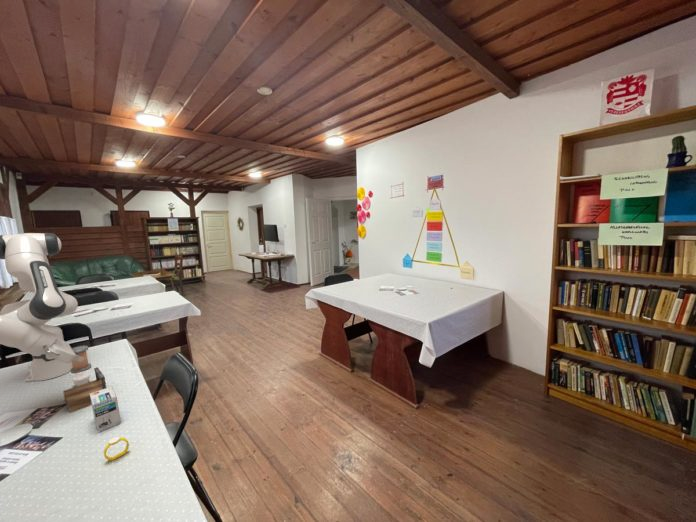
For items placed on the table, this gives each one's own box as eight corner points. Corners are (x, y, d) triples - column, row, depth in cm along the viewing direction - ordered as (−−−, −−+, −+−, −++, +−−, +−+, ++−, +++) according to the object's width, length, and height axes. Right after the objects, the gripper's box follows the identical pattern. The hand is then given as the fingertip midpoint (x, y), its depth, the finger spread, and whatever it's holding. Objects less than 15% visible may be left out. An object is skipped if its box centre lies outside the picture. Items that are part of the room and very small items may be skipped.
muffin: (78, 389, 128) (75, 374, 127) (70, 387, 131) (67, 372, 130) (94, 382, 134) (92, 368, 133) (86, 379, 136) (84, 366, 135)
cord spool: (69, 370, 119) (65, 349, 117) (89, 364, 123) (86, 344, 122) (72, 375, 114) (68, 353, 113) (92, 368, 119) (89, 348, 118)
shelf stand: (64, 399, 121) (60, 378, 119) (101, 386, 130) (98, 366, 129) (70, 412, 112) (65, 390, 111) (109, 397, 121) (105, 376, 120)
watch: (128, 448, 92) (126, 431, 92) (130, 452, 91) (128, 435, 90) (104, 460, 88) (101, 443, 87) (106, 465, 86) (103, 447, 85)
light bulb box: (121, 423, 105) (117, 396, 103) (97, 433, 100) (92, 405, 98) (116, 410, 112) (112, 385, 110) (93, 420, 107) (89, 393, 106)
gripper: (53, 342, 105) (92, 357, 114) (47, 330, 118) (83, 344, 127) (37, 358, 102) (79, 372, 111) (33, 344, 115) (71, 358, 124)
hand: (81, 357), depth 119 cm, fingers closed on cord spool, 5 cm apart
